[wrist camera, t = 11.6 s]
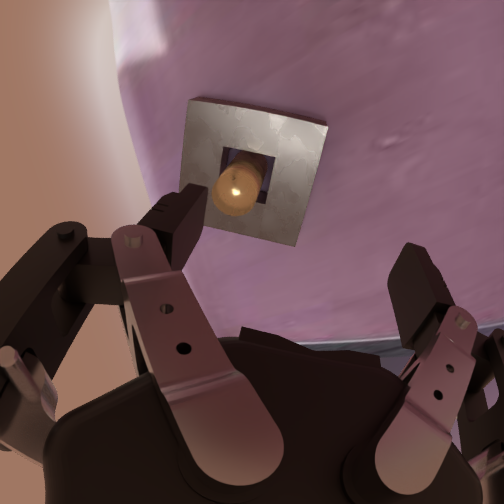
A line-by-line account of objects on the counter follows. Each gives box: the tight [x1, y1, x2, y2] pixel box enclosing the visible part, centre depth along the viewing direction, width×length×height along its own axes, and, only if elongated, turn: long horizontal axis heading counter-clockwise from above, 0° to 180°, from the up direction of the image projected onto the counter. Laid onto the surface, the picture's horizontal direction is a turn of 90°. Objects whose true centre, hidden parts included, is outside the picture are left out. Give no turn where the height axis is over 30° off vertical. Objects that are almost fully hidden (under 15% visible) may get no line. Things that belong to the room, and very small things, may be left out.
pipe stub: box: [212, 150, 268, 216], centre depth 31 cm, size 4×4×9 cm
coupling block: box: [179, 97, 328, 247], centre depth 34 cm, size 14×14×4 cm
